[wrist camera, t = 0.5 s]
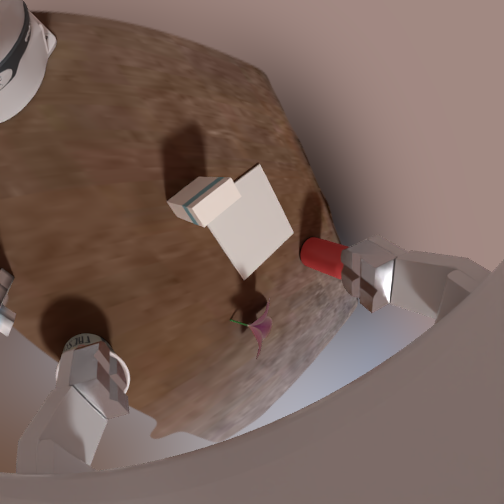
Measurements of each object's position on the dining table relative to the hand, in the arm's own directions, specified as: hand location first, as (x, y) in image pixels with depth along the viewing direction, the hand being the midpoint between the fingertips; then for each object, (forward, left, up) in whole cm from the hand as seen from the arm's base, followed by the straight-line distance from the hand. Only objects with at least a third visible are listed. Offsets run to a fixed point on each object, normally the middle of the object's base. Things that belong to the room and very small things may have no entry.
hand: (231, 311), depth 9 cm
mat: (+18, +18, -35) cm, 43 cm away
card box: (+7, +11, -35) cm, 37 cm away
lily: (+34, +7, -35) cm, 49 cm away
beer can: (+33, +27, -35) cm, 55 cm away
